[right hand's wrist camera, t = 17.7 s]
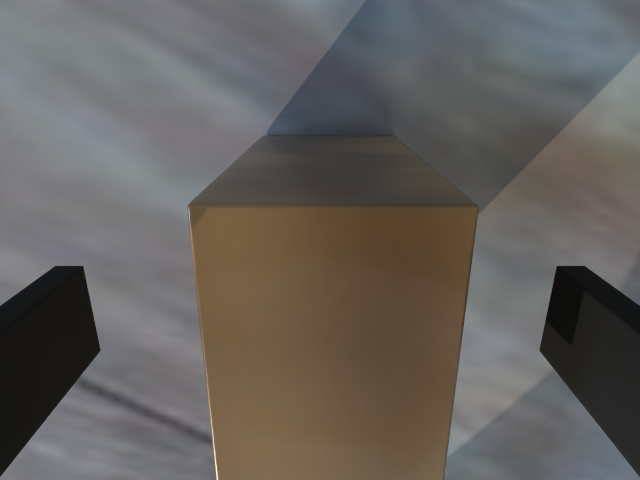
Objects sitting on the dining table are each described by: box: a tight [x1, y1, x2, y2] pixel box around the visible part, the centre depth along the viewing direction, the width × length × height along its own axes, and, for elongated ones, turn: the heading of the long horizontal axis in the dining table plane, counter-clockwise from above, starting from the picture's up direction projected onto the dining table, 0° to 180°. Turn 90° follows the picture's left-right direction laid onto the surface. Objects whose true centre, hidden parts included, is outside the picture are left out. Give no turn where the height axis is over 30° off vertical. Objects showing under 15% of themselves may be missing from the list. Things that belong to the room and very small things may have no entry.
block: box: [187, 136, 479, 480], centre depth 15 cm, size 6×8×11 cm
